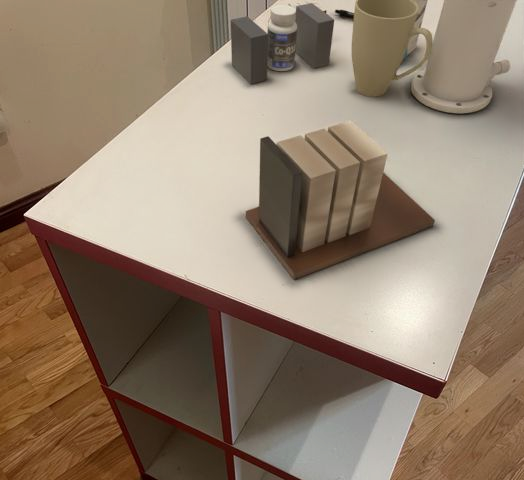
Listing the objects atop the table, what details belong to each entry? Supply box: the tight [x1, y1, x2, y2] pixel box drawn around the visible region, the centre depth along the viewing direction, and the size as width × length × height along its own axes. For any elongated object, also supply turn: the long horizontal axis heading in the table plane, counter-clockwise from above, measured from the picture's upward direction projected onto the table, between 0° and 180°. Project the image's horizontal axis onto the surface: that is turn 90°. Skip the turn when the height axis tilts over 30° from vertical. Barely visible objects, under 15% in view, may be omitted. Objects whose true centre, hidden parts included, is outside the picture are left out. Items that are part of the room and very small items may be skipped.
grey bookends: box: [230, 3, 335, 85], centre depth 84 cm, size 15×7×7 cm, turn 118°
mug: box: [351, 0, 434, 97], centre depth 78 cm, size 11×10×12 cm
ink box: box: [403, 0, 428, 60], centre depth 84 cm, size 9×5×15 cm, turn 146°
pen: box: [334, 9, 354, 20], centre depth 96 cm, size 14×2×1 cm, turn 59°
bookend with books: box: [245, 120, 436, 280], centre depth 59 cm, size 20×12×12 cm, turn 118°
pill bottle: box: [267, 4, 297, 72], centre depth 83 cm, size 5×5×8 cm
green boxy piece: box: [288, 0, 328, 14], centre depth 91 cm, size 5×5×5 cm
